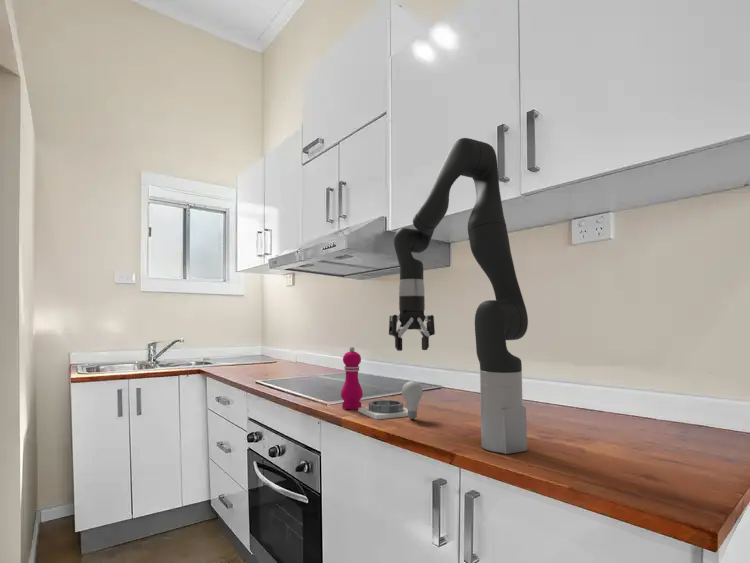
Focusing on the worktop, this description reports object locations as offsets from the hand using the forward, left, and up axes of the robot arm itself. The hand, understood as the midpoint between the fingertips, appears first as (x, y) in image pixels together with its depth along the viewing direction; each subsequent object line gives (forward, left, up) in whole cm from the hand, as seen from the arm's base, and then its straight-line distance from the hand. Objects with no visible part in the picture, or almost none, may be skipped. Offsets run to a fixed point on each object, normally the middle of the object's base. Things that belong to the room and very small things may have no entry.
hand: (412, 350), depth 136 cm
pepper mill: (+24, +9, -20) cm, 33 cm away
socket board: (+11, +3, -20) cm, 23 cm away
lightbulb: (0, 0, -20) cm, 20 cm away
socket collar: (+11, +3, -19) cm, 22 cm away
